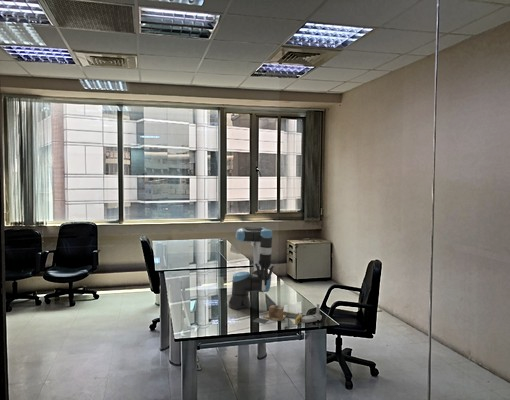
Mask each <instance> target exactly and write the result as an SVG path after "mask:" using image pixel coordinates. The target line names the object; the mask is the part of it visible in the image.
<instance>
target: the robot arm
mask: <svg viewBox="0 0 510 400" xmlns="http://www.w3.org/2000/svg"><path fill="white" fill-rule="evenodd" d="M234 236H235V238H236V241H237V242H243V243H250V245H251V246H252V250H253V251H252V253H253V256H252V257H253V271H252V273H250V272H249V271H238V272H235V273H234V274H233V275H232V281H231V282H232V285H231V296H230V298H229V301H228V307H229V308H230V309H234V310H238V311H239V310H249V309H250V308H251V307H252V306H251V305H252V304H251V300H250V296H249V295H250V293H268V292H270V289H271V283H272V274H273V270H274V268H275V267H276V266H275V264H272V263H273V262H272V250H273V249H272V248H273V230H272V229H268V228H266V227H262V226H260V227H257V226H256V227H255V226H243V227H239V228H237V229H236V231H235V234H234Z"/></svg>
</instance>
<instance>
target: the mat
mask: <svg viewBox="0 0 510 400" xmlns="http://www.w3.org/2000/svg"><path fill="white" fill-rule="evenodd" d="M269 321H270V319H267V318H263V317H262V318H260V317H257V318H255V319H254V320H253V321H252V322H253V323H258V324H263V325H265V324H266V323H268V322H269Z"/></svg>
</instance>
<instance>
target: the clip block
mask: <svg viewBox="0 0 510 400" xmlns="http://www.w3.org/2000/svg"><path fill="white" fill-rule="evenodd" d="M283 311H284V307H283V306H281V305H275V304H274V305H273V304H271V305H270V306H269V307H268V312H269V317H274V318H279V319H281V318H282V317H283Z"/></svg>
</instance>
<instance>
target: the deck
mask: <svg viewBox="0 0 510 400" xmlns="http://www.w3.org/2000/svg"><path fill="white" fill-rule="evenodd" d="M285 318H287V317H286V315H283V317H282V318H281V319H279V318H274V317H269V311H268V312H267V313H266V314H265V315H263V316H262V319H267V320H273V321H277V322H282V321H283V320H284V319H285Z"/></svg>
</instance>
